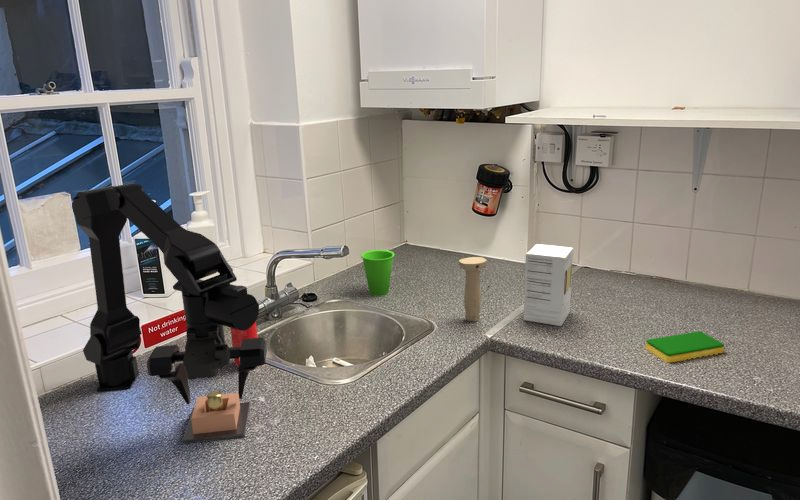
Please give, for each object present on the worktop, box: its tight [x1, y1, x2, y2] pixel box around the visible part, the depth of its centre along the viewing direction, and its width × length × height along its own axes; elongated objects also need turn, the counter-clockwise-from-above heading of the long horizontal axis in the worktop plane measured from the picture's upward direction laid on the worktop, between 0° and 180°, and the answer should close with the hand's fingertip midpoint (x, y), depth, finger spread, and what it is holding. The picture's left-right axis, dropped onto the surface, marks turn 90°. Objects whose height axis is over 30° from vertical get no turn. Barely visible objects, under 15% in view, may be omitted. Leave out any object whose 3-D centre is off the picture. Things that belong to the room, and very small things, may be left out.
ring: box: [191, 392, 241, 434], centre depth 103 cm, size 7×7×3 cm
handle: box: [458, 256, 488, 323], centre depth 141 cm, size 5×6×15 cm
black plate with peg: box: [182, 390, 251, 444], centre depth 103 cm, size 10×10×6 cm
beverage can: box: [229, 320, 259, 368], centre depth 123 cm, size 5×5×12 cm
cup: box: [360, 249, 395, 297], centre depth 161 cm, size 9×9×11 cm
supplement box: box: [523, 243, 574, 327], centre depth 141 cm, size 10×9×17 cm
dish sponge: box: [645, 330, 725, 364], centre depth 125 cm, size 7×14×2 cm, turn 106°
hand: (215, 400), depth 102 cm, fingers open, 8 cm apart
